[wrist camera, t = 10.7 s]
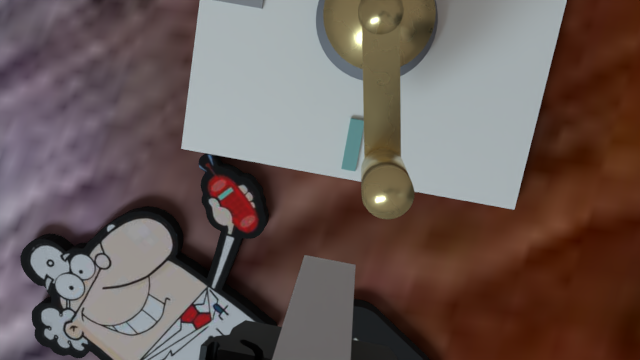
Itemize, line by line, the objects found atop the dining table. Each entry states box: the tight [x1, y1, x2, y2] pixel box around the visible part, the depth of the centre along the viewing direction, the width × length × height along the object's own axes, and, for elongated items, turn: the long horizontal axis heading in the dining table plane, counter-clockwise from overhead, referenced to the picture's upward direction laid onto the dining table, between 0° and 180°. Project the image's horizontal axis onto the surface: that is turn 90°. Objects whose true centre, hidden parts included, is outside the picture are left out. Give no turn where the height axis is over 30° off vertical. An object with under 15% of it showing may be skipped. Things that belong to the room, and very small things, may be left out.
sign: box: [21, 153, 430, 360], centre depth 47 cm, size 27×2×30 cm
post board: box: [181, 0, 567, 209], centre depth 39 cm, size 24×22×5 cm
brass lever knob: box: [323, 0, 436, 219], centre depth 32 cm, size 13×6×11 cm, turn 2°
